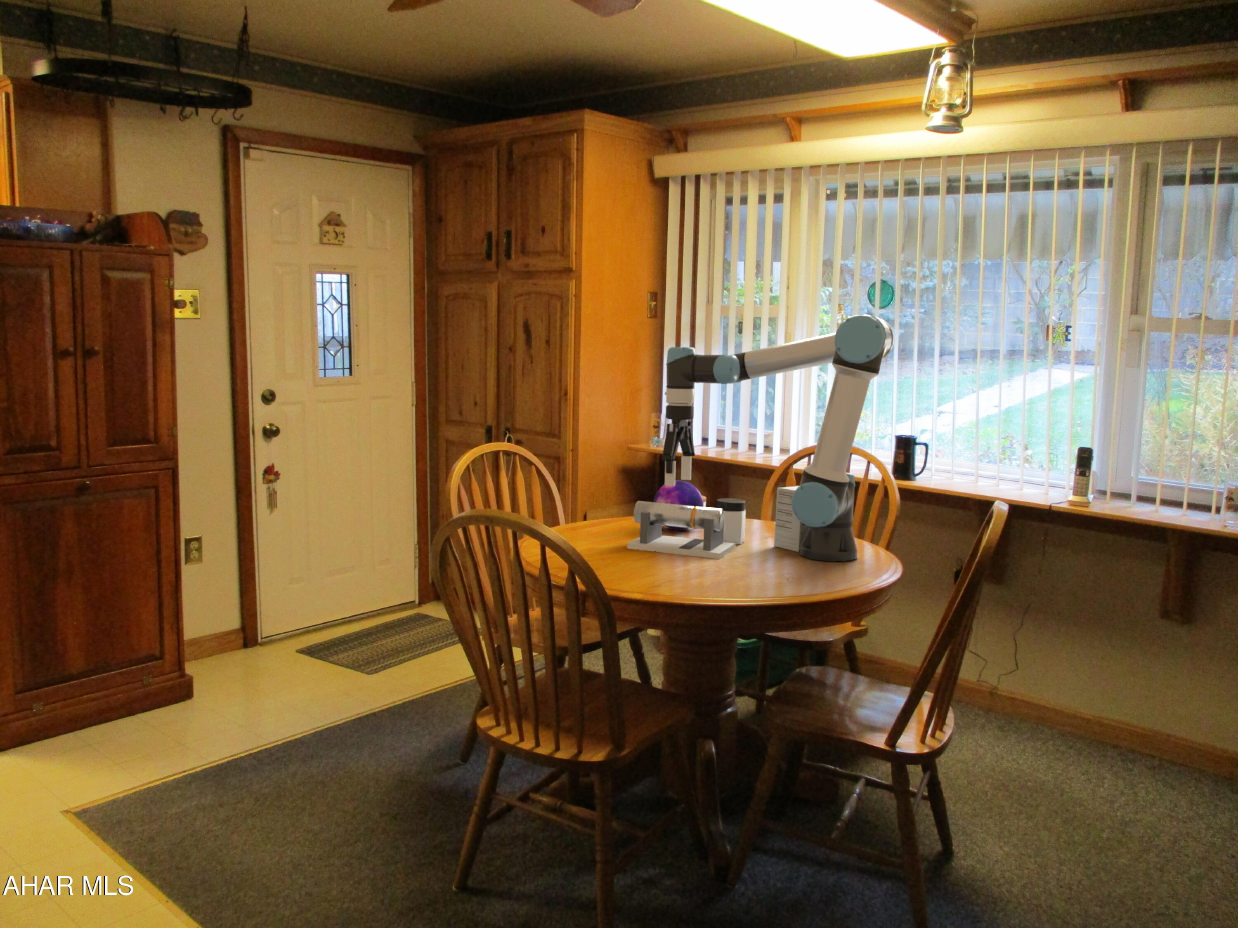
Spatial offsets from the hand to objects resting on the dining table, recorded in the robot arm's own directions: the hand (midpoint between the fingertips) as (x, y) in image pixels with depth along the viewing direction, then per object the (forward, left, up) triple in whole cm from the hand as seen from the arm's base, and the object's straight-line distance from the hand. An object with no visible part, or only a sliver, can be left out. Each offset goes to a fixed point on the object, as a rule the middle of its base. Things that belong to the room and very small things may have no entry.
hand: (678, 482), depth 261 cm
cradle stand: (-2, 0, -18) cm, 18 cm away
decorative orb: (+8, -26, -18) cm, 33 cm away
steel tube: (0, 0, -9) cm, 9 cm away
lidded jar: (+10, -43, -18) cm, 48 cm away
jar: (-11, -16, -18) cm, 27 cm away
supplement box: (-30, -18, -18) cm, 39 cm away
